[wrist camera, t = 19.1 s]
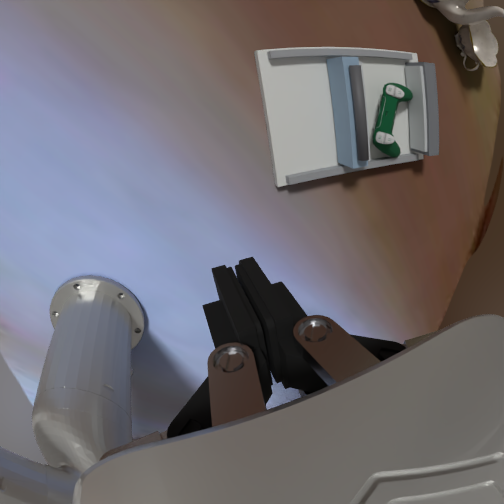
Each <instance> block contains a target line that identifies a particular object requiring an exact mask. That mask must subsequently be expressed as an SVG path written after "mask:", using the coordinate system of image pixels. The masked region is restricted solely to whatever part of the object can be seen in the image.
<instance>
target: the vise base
mask: <svg viewBox="0 0 504 504" xmlns="http://www.w3.org/2000/svg"><path fill="white" fill-rule="evenodd" d="M254 55H255V60H256V66H257V72H258V78H259V84H260V90H261V96H262V102H263V108H264V115H265V121H266V127H267V134H268V140H269V147H270V154H271V161H272V168H273V175H274V182H275V185H276V186H277V187H281V186H285V185H292V184H296V183H301V182H305V181H310V180H315V179H319V178H324V177H329V176H334V175H339V174H344V173H349V172H354V171H359V170H365V169H370V168H376V167H381V166H387V165H392V164H398V163H404V162H410V161H416V160H421V159H423V154H424V155H428V156H433V155H439V117H438V97H437V84H436V73H435V64H433V63H426V62H418V59H417V53H409V52H401V51H392V50H382V49H368V48H348V47H302V48H281V49H268V50H257V51H255V52H254ZM337 57H358V59H359V62H362V68H363V76H364V84H365V93H366V103H367V114H368V126H369V141H370V161H368V166H365V167H360V168H354V169H353V168H350V167H348V166H345V165H343V164H340V163H338V157H337V145H336V134H335V123H334V114H333V105H332V97H331V89H330V81H329V74H328V67H327V61H326V59H331V58H337ZM387 83H397V84H401V85H403V86H405V87H407V88H408V89H410V90H411V92H412V94H413V98H412V99H411V100H410V101H406V102H400V103H399V104H398V108H397V113H396V117H395V122H394V126H393V131H392V134H393V136H394V139H395V141H396V143H397V144H398V145H399V147H400V152H401V153H400V155H399V156H398V157H391V156H388V155H386V154H384V153H383V152H381V151H380V150H379V149H377V148H376V147H375V145H374V144H373V133H374V131H375V129H374V128H373V127H374V122H375V121H377V118H378V113H379V108H380V107H379V106H378V104H379V99H382V93H383V87H384V84H385V85H386V84H387Z"/></svg>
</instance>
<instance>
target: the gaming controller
mask: <svg viewBox="0 0 504 504" xmlns="http://www.w3.org/2000/svg"><path fill="white" fill-rule="evenodd" d="M412 98H413V94H412V92H411V90H410V89H408V88H407V87H405V86H403V85H401V84H397V83H387V84H386V85H385V84H384V87H383V93H382V99H379V104H378V106H379V107H380V108H379V113H378V118H377V121H375V122H374V127H373V128H374V129H375V131H374V133H373V144H374V145H375V147H376V148H377V149H379V150H380V151H381V152H383V153H384V154H386V155H388V156H391V157H398V156H399V155H400V153H401V152H400V147H399V145H398V144H397V143H396V141H395V139H394V136H393V134H392V131H393V126H394V122H395V117H396V113H397V108H398V104H399V103H400V102H406V101H410V100H411V99H412Z"/></svg>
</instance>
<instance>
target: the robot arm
mask: <svg viewBox="0 0 504 504" xmlns="http://www.w3.org/2000/svg"><path fill="white" fill-rule="evenodd" d="M235 270H236V274H237V277H236V275H235V273H234V271H233V269H232V267H228V268H226V266H225V265H222V266H219V267H215V268H212V273H213V277H214V281H215V284H216V288H217V292H218V296H219V299H220V300H219V301H215V302H212V303H209V304H205V305H203V309H204V312H205V316H206V319H207V322H208V326H209V329H210V333H211V336H212V339H213V342H214V346H215V350H214V351H213V352H212V353H211V354H210V356H209V358H208V377H207V378H206V380H205V381H204V382H203V383H202V385H201V386H200V387H199V388H198V390H197V391H196V392H195V394H194V395H193V396H192V397H191V399H190V400H189V401H188V402H187V404H186V405H185V406H184V407H183V409H182V410H181V411H180V412H179V414H178V415H177V416H176V417H175V419H174V420H173V421H172V422H171V424H170V426H169V427H168V430H167V431H164V432H162V433H159V432H158V431H156V432H154V433H152V434H149V435H147V436H145V437H142V438H140V439H137V440H135V441H132V419H131V375H132V374H133V369H132V368H131V350H132V349H133V348H134V347H135V346H136V345H137V344H138V343H139V341H140V340H141V338H142V335H143V332H144V315H143V310H142V308H141V306H140V304H139V302H138V301H137V299H136V298H135V296H134V295H133V294H132V293H131V292H130V291H129V290H128V289H126V288H125V287H124V286H122V285H121V284H119V283H117V282H115V281H113V280H111V279H108V278H104V277H101V276H93V275H88V276H79V277H75V278H72V279H70V280H68V281H66V282H65V283H64V284H62V285H61V286H60V287H59V288H58V290H57V291H56V292H55V294H54V297H53V299H52V302H51V305H50V318H51V322H52V325H53V327H54V333H53V336H52V339H51V342H50V346H49V349H48V352H47V356H46V359H45V363H44V366H43V370H42V374H41V378H40V382H39V386H38V390H37V394H36V398H35V402H34V406H33V412H32V426H33V432H34V436H35V438H36V441H37V444H38V447H39V449H40V451H41V453H42V455H43V457H44V458H45V460H46V462H47V464H48V465H46V464H40V463H38V462H35V461H32V460H30V459H28V458H25V457H23V456H20V455H18V454H16V453H14V452H11V451H9V450H7V449H5V448H3V447H1V446H0V504H504V318H503V317H500V316H498V315H493V314H489V315H488V314H487V315H478V316H473V317H470V318H467V319H464V320H461V321H458V322H456V323H454V324H451V325H449V326H447V327H445V328H443V329H441V330H438V331H435V332H432V333H429V334H426V335H422V336H419V337H416V338H412V339H409V340H405V341H404V344H400V343H397V342H393V341H387V340H380V339H374V338H368V337H362V336H356V335H350V334H348V333H347V332H346V331H345V330H344V329H343V328H341V327H340V326H339V325H338V324H337V323H336V322H334V321H333V320H332V319H330V318H328V317H325V316H321V315H313V316H307V315H306V313H305V312H304V311H303V309H302V308H301V307H300V305H299V304H298V302H297V301H296V300H295V298H294V297H293V296H292V294H291V293H290V292H289V290H288V289H287V288H286V286H285V285H284V284H283V283H282V282H278V283H274V284H271V283H270V281H269V280H268V279H267V277H266V276H265V274H264V273H263V271H262V270H261V268H260V267H259V265H258V264H257V262H256V261H255V259H254V258H253V257H250V258H246V259H243V260H240V261H239V265H235ZM270 371H271V372H270ZM271 373H272V375H273V377H274V379H275V381H276V383H279V382H282V384H283V386H284V388H285V389H287V388H289V387H291V388H295V389H299V393H300V395H301V398H298V399H296V400H293V401H290V402H288V403H285V404H282V405H280V406H277V407H274V408H271V409H268V410H267V408H266V403H267V402H268V400H269V398H270V397H271V395H272V389H271V385H273V383H272V377H271Z"/></svg>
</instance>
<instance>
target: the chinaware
mask: <svg viewBox="0 0 504 504" xmlns="http://www.w3.org/2000/svg"><path fill="white" fill-rule="evenodd" d="M421 1H422V2H423V3H424V4H426V5H427V6H429V7H432V8H437V9H438V10H439V11H440V12H441V13H442V14H443V15H444V16H445V17H446V18H447V19H448V20H450V21H451V22H454V23H457V24H462V26H461V27H460V29H459V33H457V34H456V35H454V36H455V38H456V43H457V46H458V47H459V48H460V49H461V50H462V51H464V52H461V53H460V54H461V56H462V57H464V56H465V57H464V60H463V66H464V68H465V69H466V70H468V71H474V70H476V69H478V67H479V62H480V64H481V65H482V66H485V67H491V68H493V67H496V64H497V59H496V56H495V55H497V52H498V42H497V40H496V38H495V36H494V35H493V34H492V33H490V32H491V26H490V25H489V23H488V21H487V19H490V18H492V17H495V16H501V17H503V18H504V10H503V9H502V8H500V7H497V6H486V7H480V8H475V9H470V10H467V9H465V5H466V3H467V2H468V1H469V0H421ZM466 55H467V56H469V57H470V58H471V59H473V60H475V64H477V65H476V66H475V67H474V68H472V69H468V68H466V66H465V61H466ZM477 62H478V63H477Z"/></svg>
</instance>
